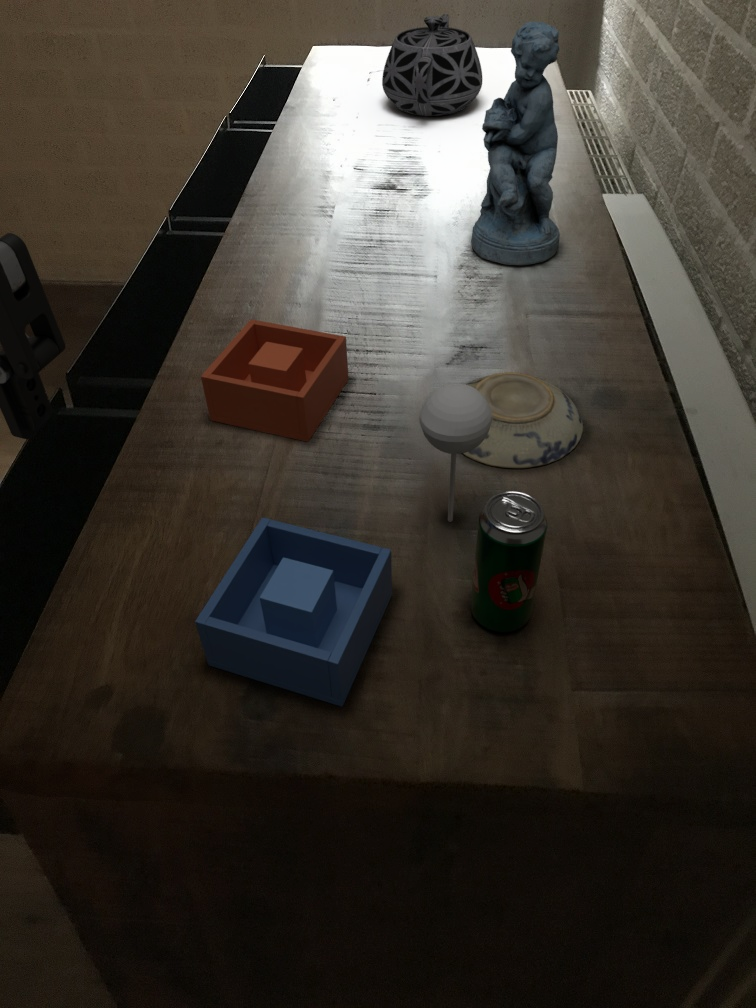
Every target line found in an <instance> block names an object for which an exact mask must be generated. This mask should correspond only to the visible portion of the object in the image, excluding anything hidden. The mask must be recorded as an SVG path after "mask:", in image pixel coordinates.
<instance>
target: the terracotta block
mask: <svg viewBox="0 0 756 1008" xmlns="http://www.w3.org/2000/svg"><path fill="white" fill-rule="evenodd" d="M249 370H250V376H251V382H253V383H258V384H263V385H268V386H273V387H278V388H283V389H288V390H293V391H298V392H300V390H301V389H302V387H303V386H304V385H305V383H306V373H305V363H304V354H303V348H298V347H293V346H287V345H282V344H276V343H271V342H265V344H264V345H263V346H262V347H261V349H260V350H259V351H258V352H257V354H256V355H255V356H254V357H253V359H252V360H251V361H250V362H249Z"/></svg>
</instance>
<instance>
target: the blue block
mask: <svg viewBox="0 0 756 1008" xmlns="http://www.w3.org/2000/svg"><path fill="white" fill-rule="evenodd" d="M260 603H261V608H262V612H263V617H264V622H265V627H266V632H267V634H271V635H274V636H277V637H281V638H284V639H288V640H291V641H294V642H298V643H301V644H305V645H308V646H312V647H315V648H318V647H319V645H320V643H321V641H322V639H323V637H324V635H325V633H326V631H327V629H328V627H329V625H330V623H331V621H332V619H333V617H334V615H335V613H336V611H337V603H336V593H335V583H334V572H333V570H330V569H326V568H322V567H318V566H314V565H311V564H307V563H303V562H299V561H295V560H291V559H288V558H284V557H283V558H282V560H281V562H280V564H279V565H278V567H277V569H276V570H275V572H274V574H273V575H272V577H271V579H270V581H269V582H268V584H267V586H266V587H265V589H264V591H263V592H262V594H261V596H260Z"/></svg>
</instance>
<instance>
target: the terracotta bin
mask: <svg viewBox="0 0 756 1008" xmlns="http://www.w3.org/2000/svg"><path fill="white" fill-rule="evenodd" d="M265 342H271V343H276V344H282V345H287V346H293V347H298V348H303V354H304V363H305V373H306V383H305V385H304V386H303V387H302V389H301V390H300V392H298V391H293V390H288V389H283V388H278V387H273V386H268V385H263V384H258V383H253V382H251V376H250V370H249V362H250V361H251V360H252V359H253V357H254V356H255V355H256V354H257V352H258V351H259V350H260V349H261V347H262V346H263V345H264V344H265ZM347 347H348V345H347V336H346V335H339V334H334V333H330V332H329V333H328V332H322V331H318V330H312V329H307V328H302V327H295V326H290V325H285V324H278V323H273V322H269V321H264V320H263V321H262V320H257V319H253V318H252V319H249V321H248V322H247V323H246V324H245V325H244V326H243V328H242V329H241V330H240V331H239V332H238V333H237V334H236V335H235V337H234V338H233V339H232V340H231V341H230V342H229V344H228V345H226V347H225V348H224V349H223V350H222V352H221V353H220V354H219V355H218V356H217V357H216V358H215V360H213V362H212V363H211V364H210V365H209V366H208V368H207V369H206V370H205V371H204V372H203V373H202V375H201V376H200V380H201V384H202V388H203V394H204V397H205V398H204V399H205V402H206V403H205V404H206V407H207V411H208V415H209V416H208V417H209V419H210V421H211V422H217V423H222V424H226V425H229V426H235V427H239V428H243V429H248V430H252V431H256V432H262V433H267V434H271V435H275V436H280V437H284V438H289V439H293V440H297V441H303V442H306V443H307V442H310V441H311V438H312V437H313V435H314V434H315V433H316V431H317V429H318V428H319V426H320V425H321V423H322V422H323V420H324V418H326V416H327V414H328V412H329V411H330V410H331V409H332V407H333V405H334V403H335V402H336V400H337V398H338V397H339V395H340V393H341V392H342V391H343V389H344V388H345V386H346V384H347V383H348V382H349V365H348V348H347Z"/></svg>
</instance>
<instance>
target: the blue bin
mask: <svg viewBox="0 0 756 1008" xmlns="http://www.w3.org/2000/svg"><path fill="white" fill-rule="evenodd" d="M283 557H284V558H288V559H291V560H295V561H299V562H303V563H307V564H311V565H314V566H318V567H322V568H326V569H330V570H333V572H334V583H335V593H336V603H337V611H336V613H335V615H334V617H333V619H332V621H331V623H330V625H329V627H328V629H327V631H326V633H325V635H324V637H323V639H322V641H321V643H320V645H319V647H318V648H315V647H312V646H308V645H305V644H301V643H298V642H294V641H291V640H288V639H284V638H281V637H277V636H274V635H271V634H267V632H266V627H265V622H264V617H263V612H262V608H261V603H260V596H261V594H262V592H263V591H264V589H265V587H266V586H267V584H268V582H269V581H270V579H271V577H272V575H273V574H274V572H275V570H276V569H277V567H278V565H279V564H280V562H281V560H282V558H283ZM392 571H393V570H392V550H391V549H390V548H387V547H381V546H378V545H374V544H370V543H366V542H362V541H359V540H355V539H350V538H347V537H342V536H338V535H334V534H332V533H331V534H330V533H327V532H323V531H318V530H316V529H315V530H314V529H311V528H308V527H307V528H306V527H303V526H298V525H296V524H295V525H294V524H291V523H286V522H282V521H279V520H275V519H270V518H267V517H264V516H263V517H261V518H260V520H259V522H258V523H257V524H256V526H255V527H254V529H253V530H252V533H250V535H249V536H248V539H246V542H245V543H244V544H243V546H242V548H241V550H240V551H239V553H238V554H237V555H236V557H235V559H234V560H233V562H232V563H231V565H230V567H229V568H228V570H226V572H225V574H224V576H223V577H222V579H221V581H220V582H219V583H218V585H217V587H216V588H215V590H214V591H213V593H212V594H211V596H210V597H209V599H208V601H207V602H206V604H205V605H204V607H203V608H202V610H201V611H200V613H199V614H198V616H197V618H196V619H195V621H194V624H195V626H196V630H197V633H198V636H199V639H200V643H201V646H202V649H203V653H204V655H205V659H206V662H207V665H208V666H210V667H212V668H217V669H219V670H223V671H225V672H229V673H232V674H236V675H239V676H242V677H244V678H248V679H252V680H255V681H256V682H257V681H258V682H261V683H264V684H268V685H271V686H273V687H277V688H279V689H284V690H287V691H289V692H294V693H296V694H300V695H302V696H306V697H309V698H312V699H316V700H318V701H321V702H325V703H329V704H332V705H335V706H338V707H340V708H341V707H343V706H344V704H345V702H346V699H347V697H348V695H349V694H350V691H351V688H352V686H353V684H354V681H355V680H356V677H357V675H358V674H359V673H358V672H359V670H360V668H361V666H362V665H363V664H362V663H363V661H364V659H365V657H366V655H367V652H368V650H369V649H370V645H371V643H372V641H373V639H374V637H375V635H376V632H377V630H378V627H379V626H380V623H381V621H382V618H383V616H384V614H385V612H386V609H387V607H388V605H389V603H390V601H391V599H392V596H393V576H392V575H393V573H392Z"/></svg>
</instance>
